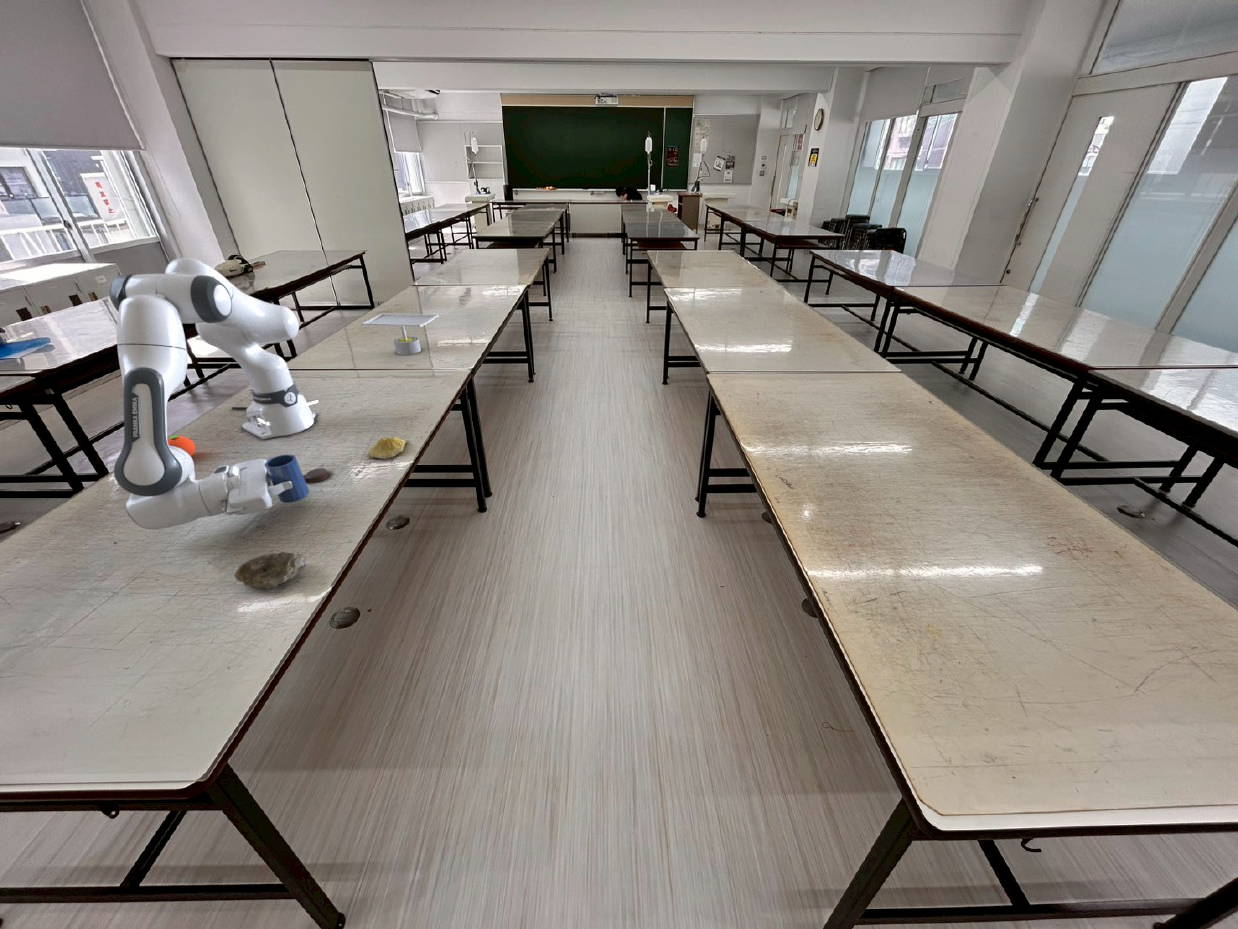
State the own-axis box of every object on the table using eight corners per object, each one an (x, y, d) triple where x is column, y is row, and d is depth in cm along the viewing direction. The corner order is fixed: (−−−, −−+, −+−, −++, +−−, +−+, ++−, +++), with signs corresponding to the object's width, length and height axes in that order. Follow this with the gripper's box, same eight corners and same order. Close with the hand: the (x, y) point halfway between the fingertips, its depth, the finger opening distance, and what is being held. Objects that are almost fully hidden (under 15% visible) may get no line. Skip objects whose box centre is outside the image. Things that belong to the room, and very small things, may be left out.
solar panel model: (369, 356, 222) (360, 323, 214) (390, 344, 236) (381, 312, 229) (427, 359, 219) (420, 325, 211) (444, 346, 233) (438, 314, 225)
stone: (320, 557, 106) (292, 550, 99) (307, 594, 104) (277, 590, 96) (270, 551, 109) (239, 543, 101) (256, 587, 106) (223, 582, 99)
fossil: (378, 424, 151) (408, 427, 149) (386, 438, 155) (415, 442, 153) (358, 449, 143) (389, 453, 141) (366, 463, 147) (397, 467, 146)
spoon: (247, 500, 128) (244, 496, 127) (247, 491, 132) (245, 486, 131) (329, 478, 136) (327, 474, 136) (327, 470, 140) (325, 465, 139)
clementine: (167, 457, 147) (155, 436, 144) (195, 448, 152) (184, 428, 148) (173, 466, 143) (161, 445, 139) (202, 457, 147) (191, 436, 143)
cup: (274, 502, 121) (258, 467, 116) (290, 488, 126) (275, 454, 121) (299, 503, 121) (284, 468, 115) (314, 488, 126) (301, 454, 121)
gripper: (214, 504, 106) (288, 484, 112) (219, 462, 121) (284, 447, 127) (226, 527, 109) (298, 507, 115) (230, 484, 124) (293, 468, 130)
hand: (291, 475), depth 121 cm, fingers closed on cup, 6 cm apart
